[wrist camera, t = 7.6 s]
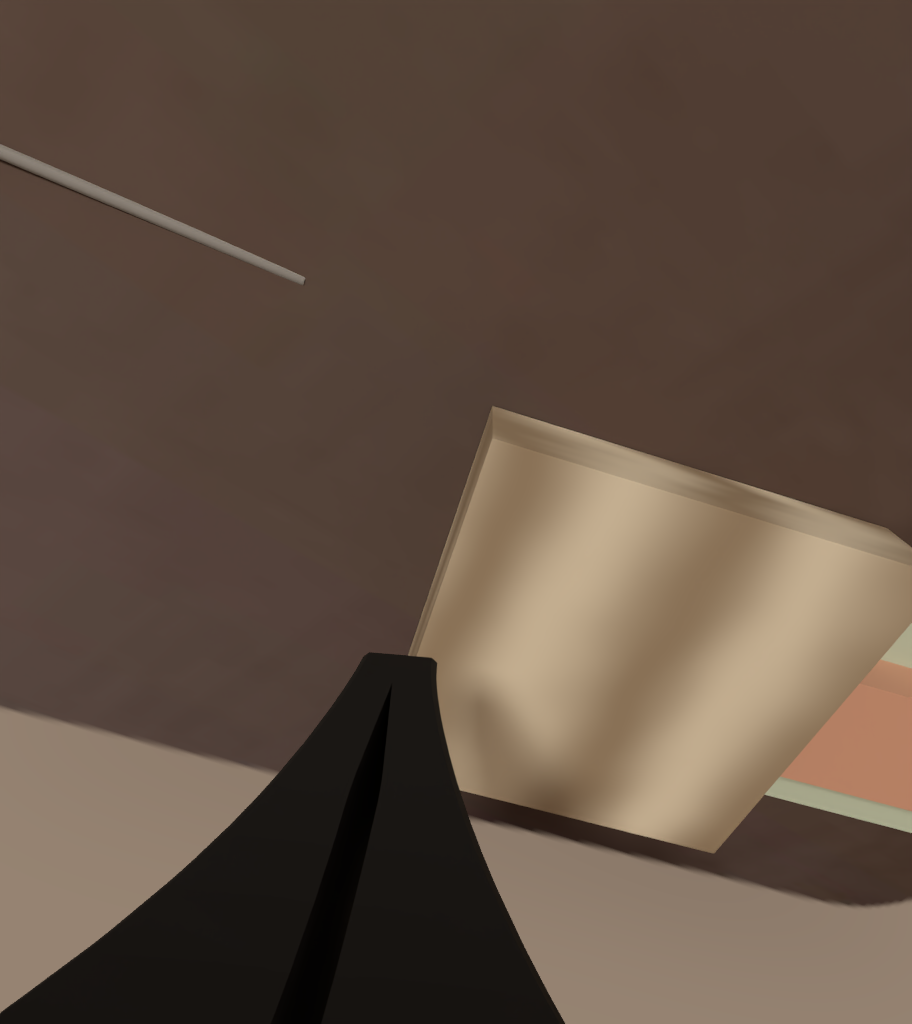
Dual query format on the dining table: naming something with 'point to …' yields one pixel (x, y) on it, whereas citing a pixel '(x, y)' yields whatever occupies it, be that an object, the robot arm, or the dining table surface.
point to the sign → (140, 211)
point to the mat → (903, 652)
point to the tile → (865, 742)
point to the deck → (645, 631)
